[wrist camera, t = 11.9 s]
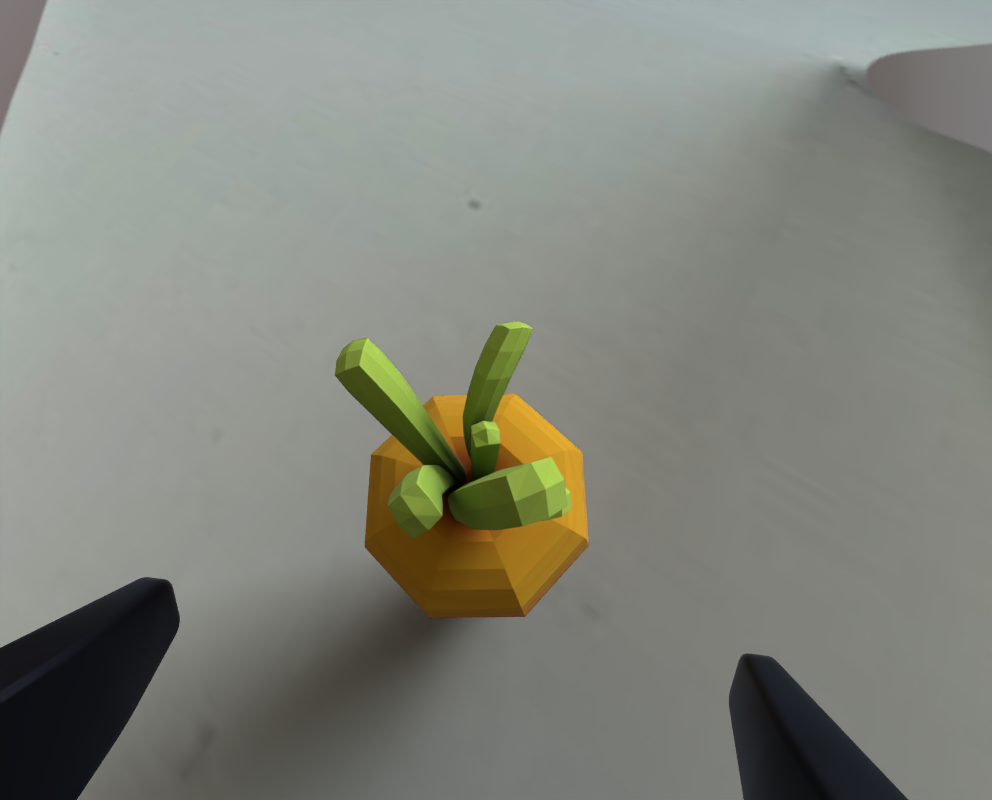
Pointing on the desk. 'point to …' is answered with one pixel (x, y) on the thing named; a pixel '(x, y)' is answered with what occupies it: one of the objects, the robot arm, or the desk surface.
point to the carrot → (468, 486)
